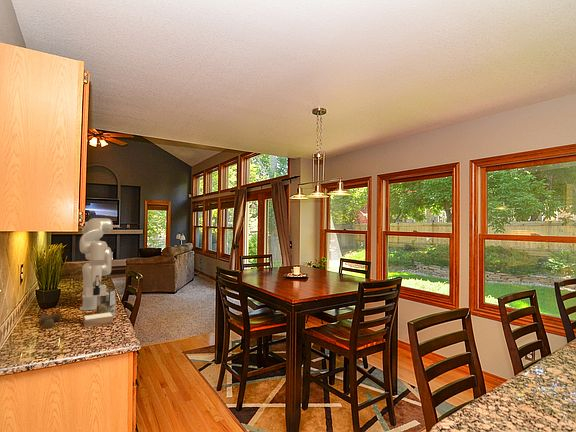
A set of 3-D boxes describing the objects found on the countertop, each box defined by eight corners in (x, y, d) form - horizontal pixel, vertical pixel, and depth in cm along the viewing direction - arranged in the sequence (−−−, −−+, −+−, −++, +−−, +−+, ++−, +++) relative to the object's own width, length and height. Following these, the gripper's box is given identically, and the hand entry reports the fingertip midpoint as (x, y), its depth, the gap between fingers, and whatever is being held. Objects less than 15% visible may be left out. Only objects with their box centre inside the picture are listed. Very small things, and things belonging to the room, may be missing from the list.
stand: (83, 323, 187) (83, 315, 187) (110, 319, 195) (110, 312, 196) (84, 327, 180) (84, 319, 180) (112, 323, 188) (112, 315, 188)
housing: (82, 295, 186) (82, 285, 186) (108, 293, 194) (108, 283, 194) (82, 297, 181) (83, 287, 181) (109, 295, 189) (109, 285, 189)
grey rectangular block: (36, 331, 174) (41, 321, 191) (58, 329, 179) (61, 319, 196) (37, 320, 174) (42, 311, 191) (59, 318, 179) (62, 309, 196)
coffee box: (116, 315, 206) (116, 289, 206) (109, 317, 199) (110, 291, 200) (102, 314, 206) (103, 289, 207) (95, 317, 200) (96, 291, 201)
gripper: (88, 261, 193) (87, 292, 192) (90, 264, 179) (89, 297, 178) (102, 261, 197) (101, 290, 197) (106, 264, 183) (105, 296, 183)
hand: (95, 293), depth 187 cm, fingers closed on housing, 6 cm apart
